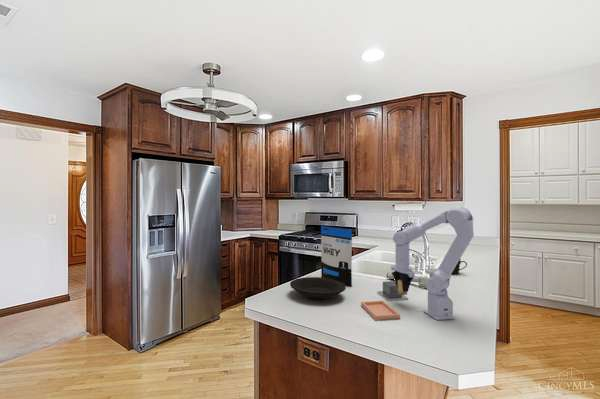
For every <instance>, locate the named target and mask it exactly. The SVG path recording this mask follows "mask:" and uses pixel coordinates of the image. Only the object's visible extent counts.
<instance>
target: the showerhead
mask: <svg viewBox="0 0 600 399" xmlns="http://www.w3.org/2000/svg"><path fill="white" fill-rule="evenodd" d="M437 269H438V268H434V267H430V266H427V268H425V270H424V272H425V274H428V275H429V278H431V277H432V275H433V274H434V273H435V271H436V270H437Z"/></svg>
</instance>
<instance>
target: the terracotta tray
mask: <svg viewBox="0 0 600 399" xmlns="http://www.w3.org/2000/svg"><path fill="white" fill-rule="evenodd" d="M360 307H361V308H363V309H364V310H366V311H367V312H366V311H365V312H366V313H368V315H369V316H370V315H371V316H370V317H371V318H372V317H373V318H372V319H373V320H374V319H375V320H374V321H378V320H380V321H391V320H392V321H394V319H395V320H400V319H401V314H400V313H399V312H398V311H396V310H395V309H394V308H393V307H391V306H390V305H389V304H388V303H387V302H385V301H384V300H373V301H372V300H371V301H361V303H360Z"/></svg>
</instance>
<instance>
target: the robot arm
mask: <svg viewBox="0 0 600 399" xmlns="http://www.w3.org/2000/svg"><path fill="white" fill-rule="evenodd" d="M441 224H449V225H450V226H451V227H452V228H453V229H454V231H455V234H456V237H455V238H454V240H453V241H452V244H451V245H450V246H449V248H448V250H447V252H446V253H445V256H444V258H443V259H442V261H441V262H440V265H439V266H438V268H437V270H436V271H435V273H434V274H433V275H432V277H431V278H430V277H428V279H427V280H426V283H425V286H426V288H425V289H426V290H427V309H423V312H424V313H425V314H427V315H428V316H429V317H431V318H432V319H434V320H435V321H441V320H443V321H444V320H455V319H456V318H455V317H454V310H453V309H454V307H453V306H454V303H453V300H452V299H451V298H450V297H449V293H448V288H449V287H450V281H451V278H452V275H451V273H452V272H453V270H454V268H455V267H456V265H457V263H458V262H459V260H460V258H462V256H464V255H463V254H464V253H465V252H466V250H467V248H468V246H469V244H470V243H471V241H472V239H473V237H474V234H475V233H474V217H473V214H472V212H471V211H470V210H469V209H468V208H465V207H459V208H450V209H449V210H446V211H443V212H441V213H439V214H437V215H435V216H433V217H431V218H430V219H428V220H426V221H424V222H423V223H420V222H412V223H411V225H410V226H408V227H404V228H402V229H401V230H402V231H401V230H400V231H396V232H395V233H394V234H393V235H392V236H393V237H392V240H393V242H394V244H395V252H394V253H395V265H393V264H392V265H391V266H390V267H391V268H390V269H391V270H392V271H391V273H392V275H393V277H394V279H395V280H394V281H395V282H396V286H397V289H398V279H400V278H401V281H402V289H403V292H407V293H408V292H409V289H410V285H411V283H412V282H411V281H412V279H413V278H414V277H415V276H416V274H415V273H416V272H414V271H412V268H411V267H410V243H411V242H413V241H415V240H416V239H418V238H421V237H423V236H424V235H425V234H426V232H427V231H428V230H430V229H432V228H435V227H437V226H440V225H441ZM460 261H461V260H460Z"/></svg>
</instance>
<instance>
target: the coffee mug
mask: <svg viewBox="0 0 600 399" xmlns="http://www.w3.org/2000/svg"><path fill="white" fill-rule="evenodd" d="M461 258H462V257H461ZM461 258H460V260H459V262H458V263H457V265H456V267H455V268H454V270H453V272H452V273H451V276H458V275H459V273H460V271H461V270H464V269H465V268H467V266H468V263H467V262H466V261H465V260H462V261H461ZM462 263H465V266H463V267H462V268H460V266H461V264H462Z"/></svg>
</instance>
